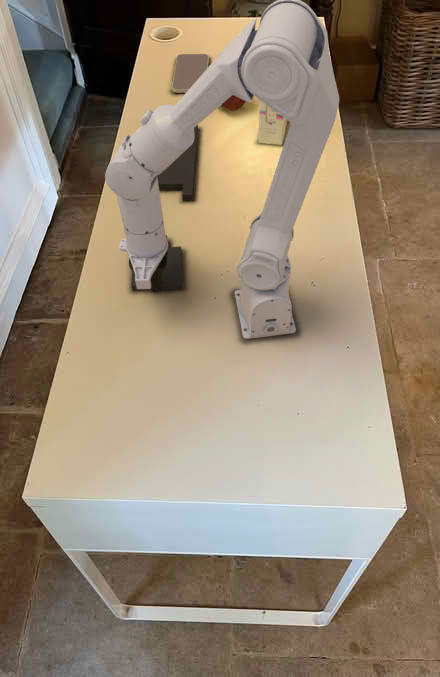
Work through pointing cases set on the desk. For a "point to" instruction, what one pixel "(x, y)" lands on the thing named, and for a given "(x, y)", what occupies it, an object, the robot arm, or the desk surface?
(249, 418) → the desk surface
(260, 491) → the desk surface
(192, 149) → the black pad
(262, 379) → the desk surface
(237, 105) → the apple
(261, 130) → the ink cartridge box
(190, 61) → the smartphone
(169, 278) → the charcoal pad
